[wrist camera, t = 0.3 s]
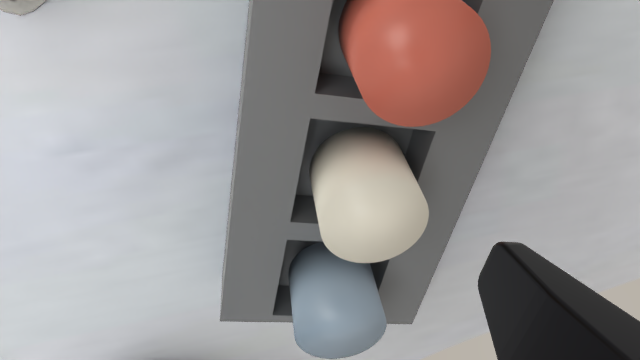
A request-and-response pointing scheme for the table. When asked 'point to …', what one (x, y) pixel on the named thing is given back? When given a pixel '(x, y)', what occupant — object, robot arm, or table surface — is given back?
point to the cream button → (366, 196)
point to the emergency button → (20, 6)
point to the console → (333, 117)
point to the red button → (414, 56)
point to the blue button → (334, 304)
